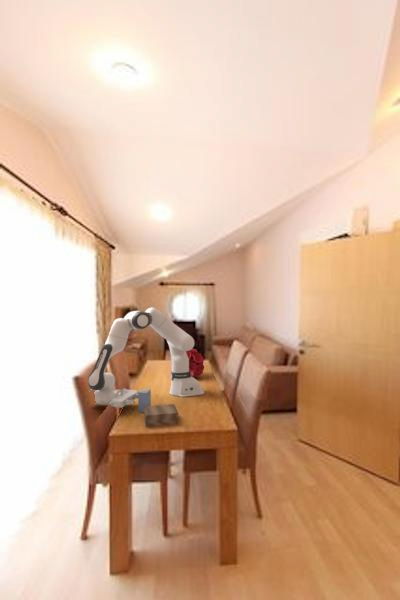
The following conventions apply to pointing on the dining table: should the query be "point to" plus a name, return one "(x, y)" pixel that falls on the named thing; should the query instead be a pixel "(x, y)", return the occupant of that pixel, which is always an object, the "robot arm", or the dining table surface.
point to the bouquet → (195, 362)
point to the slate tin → (144, 399)
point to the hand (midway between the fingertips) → (138, 399)
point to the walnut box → (160, 415)
